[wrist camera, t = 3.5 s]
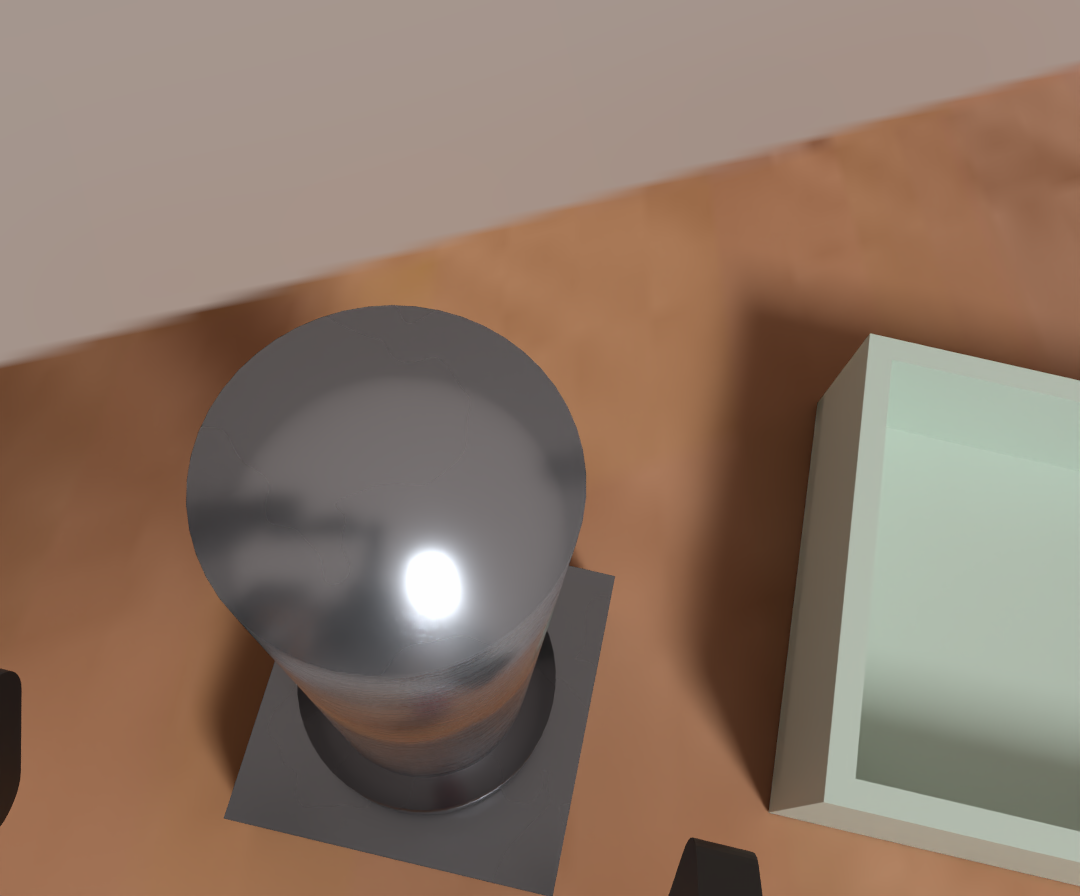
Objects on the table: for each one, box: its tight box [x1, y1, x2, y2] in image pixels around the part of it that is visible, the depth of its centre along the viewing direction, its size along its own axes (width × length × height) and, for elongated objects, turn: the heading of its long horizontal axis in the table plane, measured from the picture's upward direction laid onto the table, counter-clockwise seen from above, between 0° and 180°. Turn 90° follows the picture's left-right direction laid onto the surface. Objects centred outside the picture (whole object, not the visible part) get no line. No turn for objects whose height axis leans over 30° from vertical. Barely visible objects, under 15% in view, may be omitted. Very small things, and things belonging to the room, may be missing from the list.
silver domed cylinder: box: [186, 305, 586, 815], centre depth 16 cm, size 5×5×13 cm
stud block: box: [224, 566, 615, 896], centre depth 23 cm, size 7×7×2 cm
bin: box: [769, 333, 1080, 886], centre depth 24 cm, size 11×11×4 cm
